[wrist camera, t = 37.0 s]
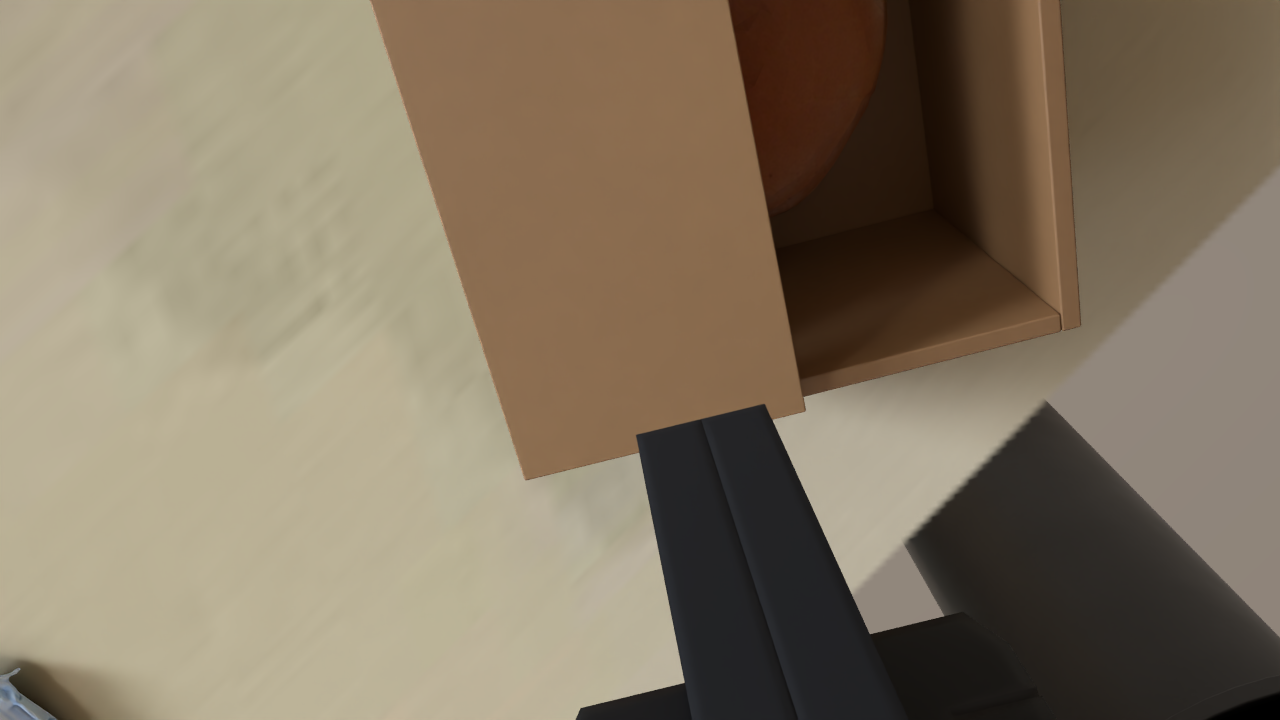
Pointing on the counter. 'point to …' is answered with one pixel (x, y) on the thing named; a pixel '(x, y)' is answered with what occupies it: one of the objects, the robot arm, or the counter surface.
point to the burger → (806, 84)
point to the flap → (599, 213)
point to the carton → (940, 201)
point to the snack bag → (18, 703)
